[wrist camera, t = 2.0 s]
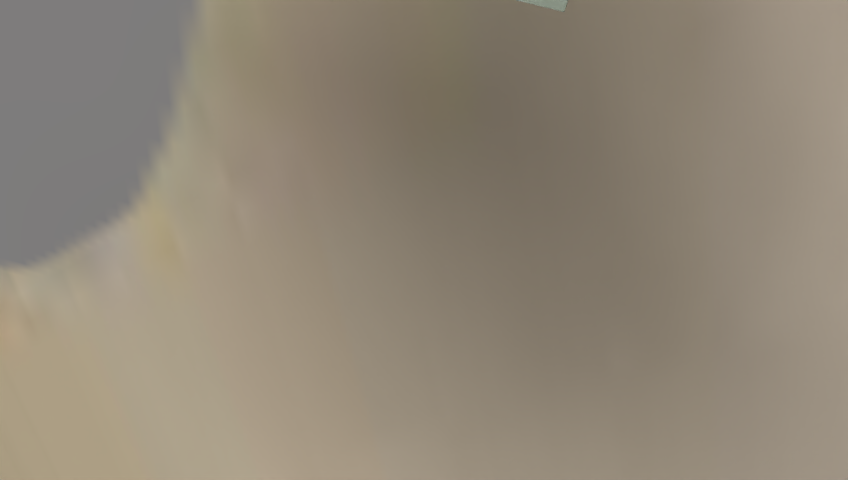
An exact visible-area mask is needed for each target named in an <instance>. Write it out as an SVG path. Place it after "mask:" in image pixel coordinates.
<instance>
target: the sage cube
mask: <svg viewBox="0 0 848 480" xmlns="http://www.w3.org/2000/svg"><path fill="white" fill-rule="evenodd" d="M518 1H522V2H526V3H530V4H534V5H538V6H542V7H546V8H550V9H554V10H558V11H562V12H564V11H565V8H566V5H567V2H568V0H518Z"/></svg>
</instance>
